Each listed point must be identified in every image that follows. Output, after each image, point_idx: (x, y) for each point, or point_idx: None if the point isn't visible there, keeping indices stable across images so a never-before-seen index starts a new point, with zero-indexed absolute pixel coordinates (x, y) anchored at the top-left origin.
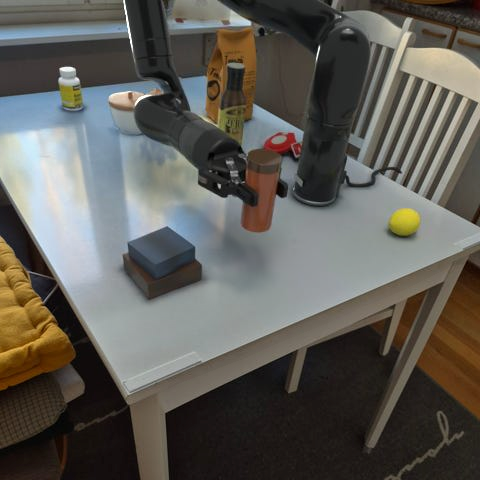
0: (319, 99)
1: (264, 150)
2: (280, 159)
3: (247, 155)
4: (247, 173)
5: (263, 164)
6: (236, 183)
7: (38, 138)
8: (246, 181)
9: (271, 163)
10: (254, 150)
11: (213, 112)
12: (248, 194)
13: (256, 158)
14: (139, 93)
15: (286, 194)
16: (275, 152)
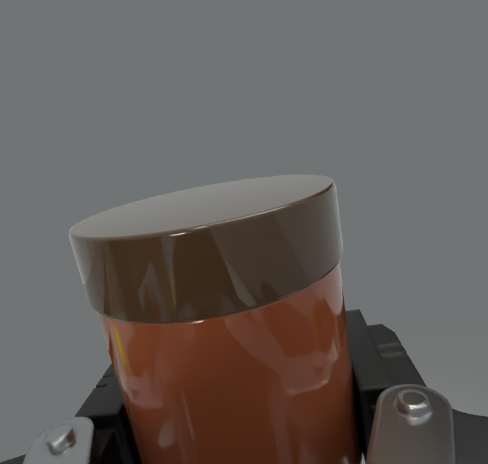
0: None
1: (114, 229)
2: (155, 197)
3: (315, 194)
4: (342, 300)
5: (284, 175)
6: (429, 393)
7: None
8: (350, 358)
9: (236, 181)
10: (187, 225)
11: None
12: (380, 335)
13: (277, 186)
14: None
15: None
16: (87, 220)
